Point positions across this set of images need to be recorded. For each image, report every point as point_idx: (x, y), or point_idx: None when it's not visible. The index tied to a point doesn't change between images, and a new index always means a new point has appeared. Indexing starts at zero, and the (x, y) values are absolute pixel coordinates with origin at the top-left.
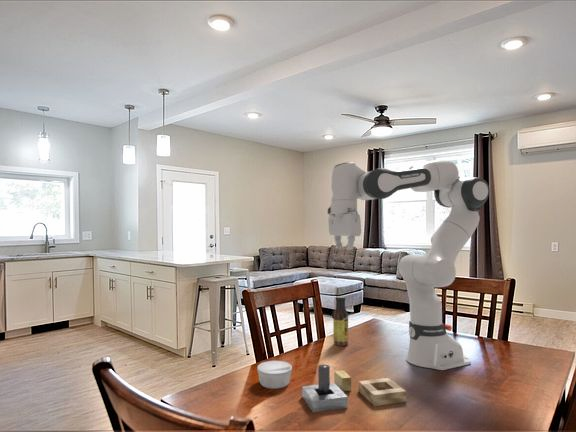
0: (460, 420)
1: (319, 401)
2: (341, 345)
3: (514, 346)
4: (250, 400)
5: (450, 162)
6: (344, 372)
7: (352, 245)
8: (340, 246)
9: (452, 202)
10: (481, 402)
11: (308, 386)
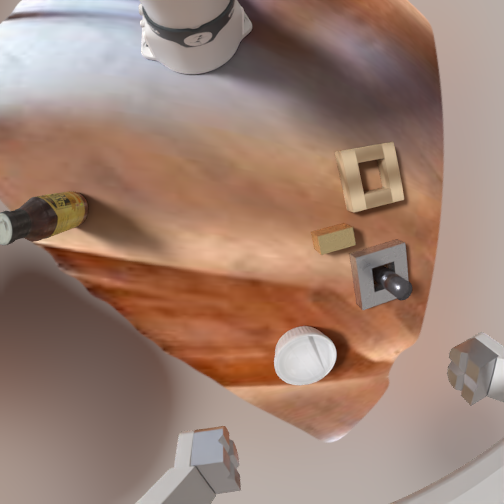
0: (429, 98)
1: None
2: (87, 209)
3: None
4: (355, 367)
5: None
6: (329, 235)
7: (501, 351)
8: (228, 446)
9: None
10: (381, 39)
11: (365, 300)
